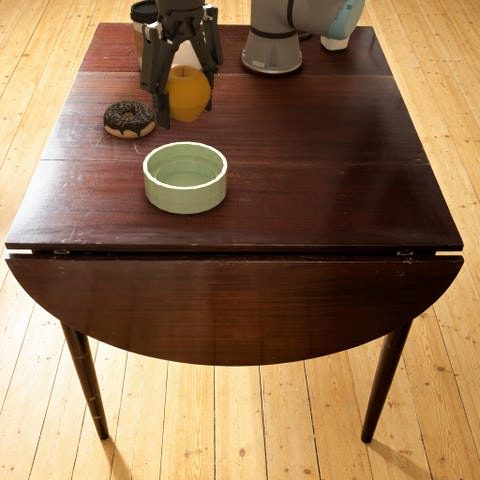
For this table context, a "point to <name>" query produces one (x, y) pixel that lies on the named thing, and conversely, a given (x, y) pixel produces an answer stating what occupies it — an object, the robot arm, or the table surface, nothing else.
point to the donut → (129, 119)
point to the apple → (187, 92)
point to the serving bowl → (185, 177)
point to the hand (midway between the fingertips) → (184, 117)
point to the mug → (186, 55)
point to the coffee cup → (143, 21)
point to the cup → (334, 43)
